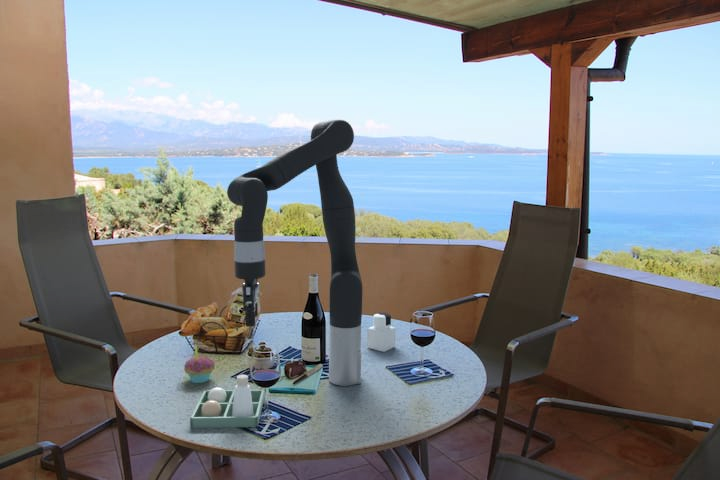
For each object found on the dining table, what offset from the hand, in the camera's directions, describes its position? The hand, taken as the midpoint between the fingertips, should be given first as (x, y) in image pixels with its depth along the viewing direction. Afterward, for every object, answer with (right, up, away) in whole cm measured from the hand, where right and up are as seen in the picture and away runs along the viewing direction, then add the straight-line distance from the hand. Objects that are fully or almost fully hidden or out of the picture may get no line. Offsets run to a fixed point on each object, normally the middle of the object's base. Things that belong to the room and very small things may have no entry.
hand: (252, 321), depth 139 cm
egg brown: (-9, -24, -4) cm, 26 cm away
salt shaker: (-2, -24, -3) cm, 24 cm away
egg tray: (-6, -24, 0) cm, 24 cm away
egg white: (-10, -22, +3) cm, 25 cm away
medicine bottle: (+35, -17, +52) cm, 64 cm away
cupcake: (-19, -21, +20) cm, 34 cm away
